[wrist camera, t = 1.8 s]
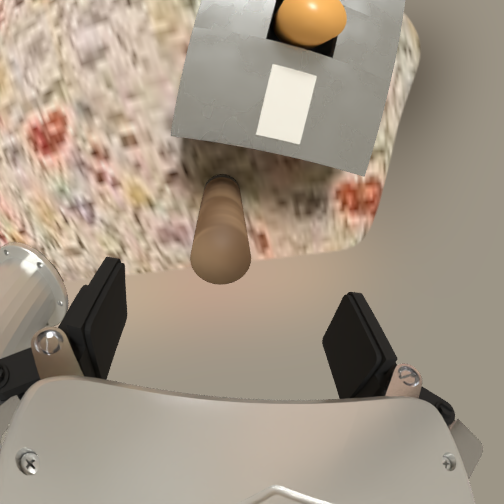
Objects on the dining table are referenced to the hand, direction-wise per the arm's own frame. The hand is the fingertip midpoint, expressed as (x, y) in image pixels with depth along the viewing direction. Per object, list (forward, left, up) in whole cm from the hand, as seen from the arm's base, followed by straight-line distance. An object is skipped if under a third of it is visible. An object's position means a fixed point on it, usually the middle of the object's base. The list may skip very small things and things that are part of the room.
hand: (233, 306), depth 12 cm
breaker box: (+11, +6, -16) cm, 21 cm away
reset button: (+13, +7, -12) cm, 19 cm away
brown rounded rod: (-1, 0, -16) cm, 16 cm away
